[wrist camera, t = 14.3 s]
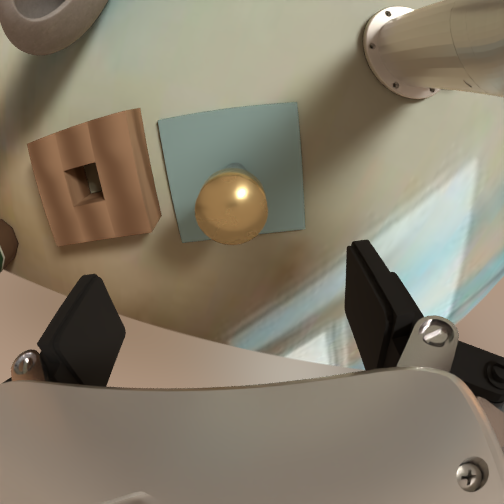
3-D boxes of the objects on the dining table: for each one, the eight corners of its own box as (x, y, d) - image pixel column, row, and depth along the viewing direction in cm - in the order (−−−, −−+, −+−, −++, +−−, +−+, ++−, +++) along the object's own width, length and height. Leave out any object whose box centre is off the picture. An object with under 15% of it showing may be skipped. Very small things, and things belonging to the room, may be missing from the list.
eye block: (140, 107, 31) (125, 110, 27) (161, 215, 38) (151, 232, 34) (48, 136, 32) (27, 144, 27) (73, 230, 38) (57, 246, 34)
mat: (296, 102, 32) (297, 102, 31) (304, 227, 40) (305, 229, 39) (158, 120, 32) (157, 120, 32) (182, 241, 40) (182, 242, 40)
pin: (258, 147, 34) (264, 172, 23) (263, 196, 37) (271, 240, 26) (206, 154, 34) (188, 181, 24) (214, 201, 37) (201, 248, 27)
